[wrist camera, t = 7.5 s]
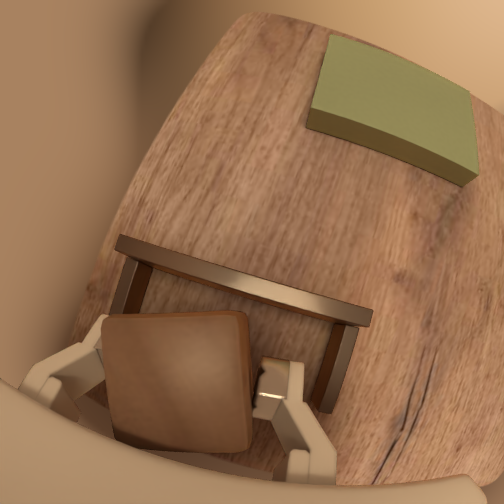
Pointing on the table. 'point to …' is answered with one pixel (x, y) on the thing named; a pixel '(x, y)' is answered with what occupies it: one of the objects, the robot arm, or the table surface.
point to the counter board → (395, 109)
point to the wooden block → (179, 380)
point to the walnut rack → (251, 288)
